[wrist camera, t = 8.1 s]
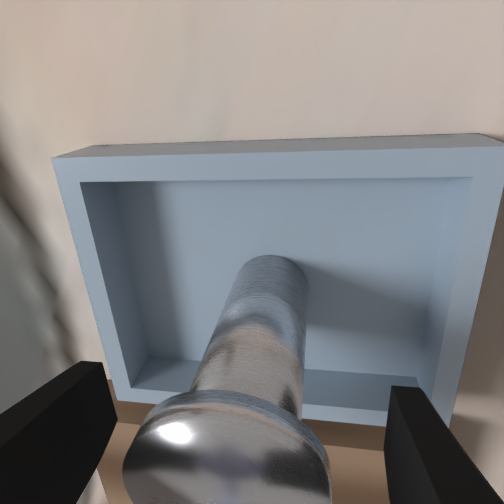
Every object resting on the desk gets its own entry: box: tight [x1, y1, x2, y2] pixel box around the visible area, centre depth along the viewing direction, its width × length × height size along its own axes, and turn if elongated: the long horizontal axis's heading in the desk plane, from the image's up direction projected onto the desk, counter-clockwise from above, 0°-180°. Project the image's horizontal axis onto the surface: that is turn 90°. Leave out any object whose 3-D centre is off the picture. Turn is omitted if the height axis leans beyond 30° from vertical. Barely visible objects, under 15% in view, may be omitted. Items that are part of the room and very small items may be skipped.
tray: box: [51, 133, 504, 428], centre depth 14 cm, size 11×14×2 cm
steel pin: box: [122, 255, 332, 504], centre depth 11 cm, size 4×4×8 cm
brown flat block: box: [97, 380, 390, 504], centre depth 19 cm, size 8×16×2 cm, turn 93°
